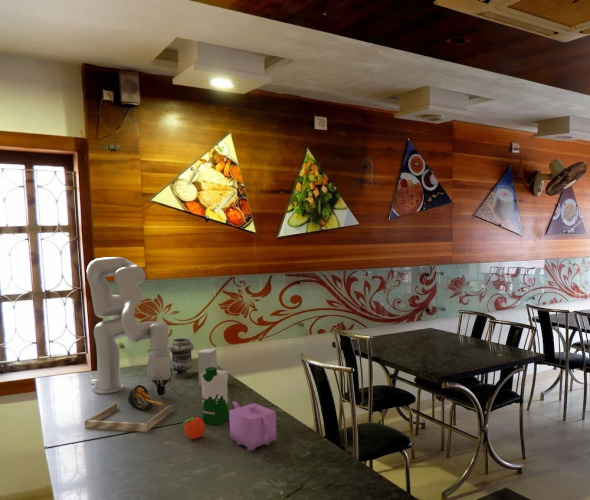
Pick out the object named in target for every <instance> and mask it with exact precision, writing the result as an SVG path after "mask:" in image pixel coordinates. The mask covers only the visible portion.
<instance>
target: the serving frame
mask: <svg viewBox="0 0 590 500" xmlns="http://www.w3.org/2000/svg"><path fill="white" fill-rule="evenodd" d="M118 404H119V403H118V402H114V403H112V404H110V405H109V406H107V407H105V408H104V409H101V411H99V412H97V413H95V414H94V415H93V416H91V417H89V418H87V419H86V420H85V421H84V429H96V430H112V431H115V430H116V431H128V432H142V433H143V432H148V431H150V430H151V429H152V428H153V427H155V426H156V425H158V423H160V422H161V421H162V420H163V419H165V418H166V417H167V416H168V415H170V414H171V413H172V405H170V404H169V405H167V406H166V407H164V408H163V409H162V410H160V411H159V412H158V413H156V414H155V415H154V416H153V417H151V418H150V419H149V420H148V421H146V422H145V423H144V422H130V421H115V420H114V421H111V420H109V421H108V420H103V419H105V418H106V417H108V416H109V415H111V414H113V413H115V411H117V410H119V406H118Z"/></svg>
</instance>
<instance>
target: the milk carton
mask: <svg viewBox="0 0 590 500" xmlns="http://www.w3.org/2000/svg"><path fill="white" fill-rule="evenodd" d="M200 378H201V383H202V386H201V395H202V396H201V397H202V399H201V400H202V420H203V422H204V424H209V425H213V426H220V425H221V424H223V423H224V422H226V421H227V420H230V417H229V406H228V405H229V404H228V403H229V402H228V400H229V399H228V380H229V370H224V369H222V370H221V369H218V367H217V368H215V367H209V368H206V372H204V373H202V374H200Z"/></svg>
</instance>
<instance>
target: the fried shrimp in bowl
mask: <svg viewBox="0 0 590 500" xmlns="http://www.w3.org/2000/svg"><path fill="white" fill-rule="evenodd" d="M127 403H128V404H129V405H132V406H134V407H137V408H139V409H142V410H145V409H150V408H152V407H153V406H159V407H164V406H165V404H166V403H165V402H163V401H158V400H152V397H151V396H150V395H149V392H148V390H147V387H145V386H144V385H142V384H138V385H136V386H135V387H134V388H133V389H132V390H131V391H130V392H129V395H127Z"/></svg>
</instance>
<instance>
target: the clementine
mask: <svg viewBox="0 0 590 500" xmlns="http://www.w3.org/2000/svg"><path fill="white" fill-rule="evenodd" d="M184 424H185V425H184ZM183 426H184V427H183ZM181 428H184V433H185V434H184V435H186V437H187V438H189V439H191V440H196V439H197V440H198V439H199V438H201V437H202V436H203V434H204V433H205V432H206V423H204V422H203V418H201V417H199V416H194V417H190V418H188V419H186V420H185V421H183V422H182V425H181Z"/></svg>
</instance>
